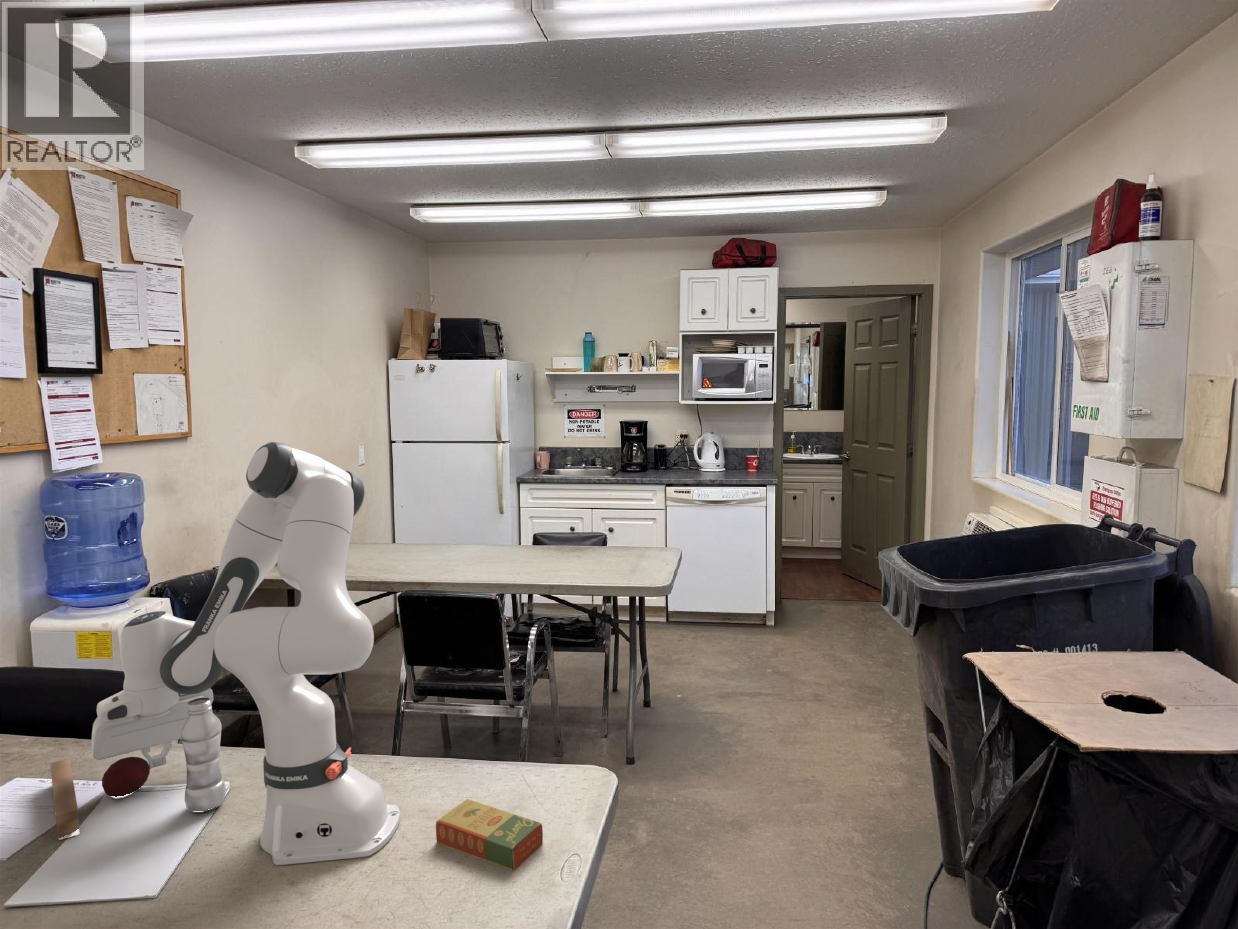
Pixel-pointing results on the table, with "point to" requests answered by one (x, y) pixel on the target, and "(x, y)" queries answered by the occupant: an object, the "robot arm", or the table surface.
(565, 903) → the table surface
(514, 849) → the carton
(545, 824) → the table surface
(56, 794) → the board
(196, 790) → the plastic bottle
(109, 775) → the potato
